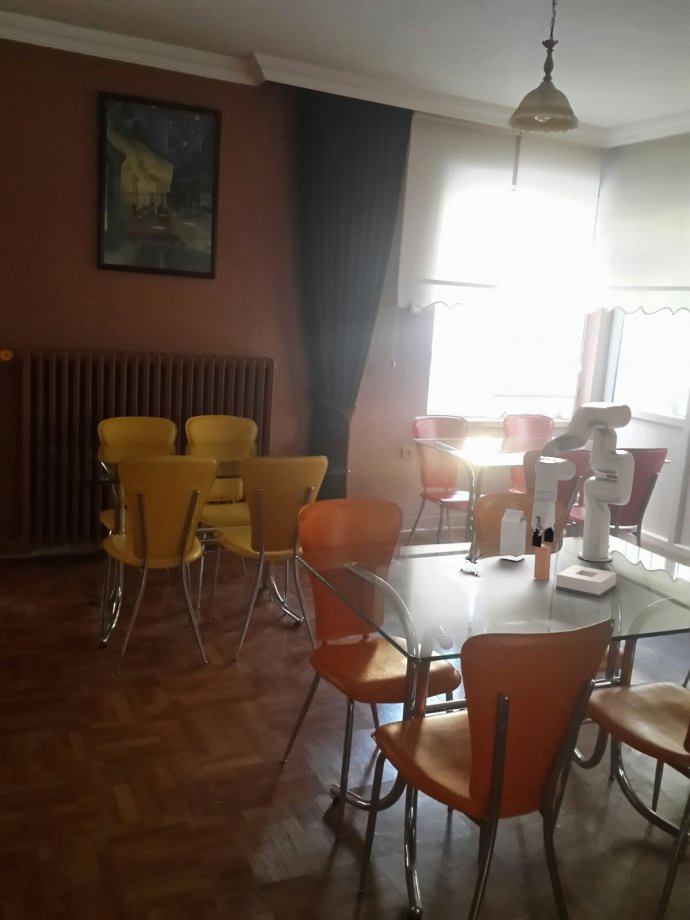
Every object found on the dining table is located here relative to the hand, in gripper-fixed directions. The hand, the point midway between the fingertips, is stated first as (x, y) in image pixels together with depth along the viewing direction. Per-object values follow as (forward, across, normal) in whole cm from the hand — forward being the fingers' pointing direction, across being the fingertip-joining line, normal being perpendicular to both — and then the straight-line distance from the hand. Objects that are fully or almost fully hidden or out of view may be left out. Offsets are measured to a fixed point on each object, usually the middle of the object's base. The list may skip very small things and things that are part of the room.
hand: (542, 544), depth 288 cm
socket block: (+13, -1, +16) cm, 20 cm away
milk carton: (+12, -18, -20) cm, 30 cm away
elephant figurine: (+13, +7, -22) cm, 27 cm away
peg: (+13, -1, 0) cm, 13 cm away
